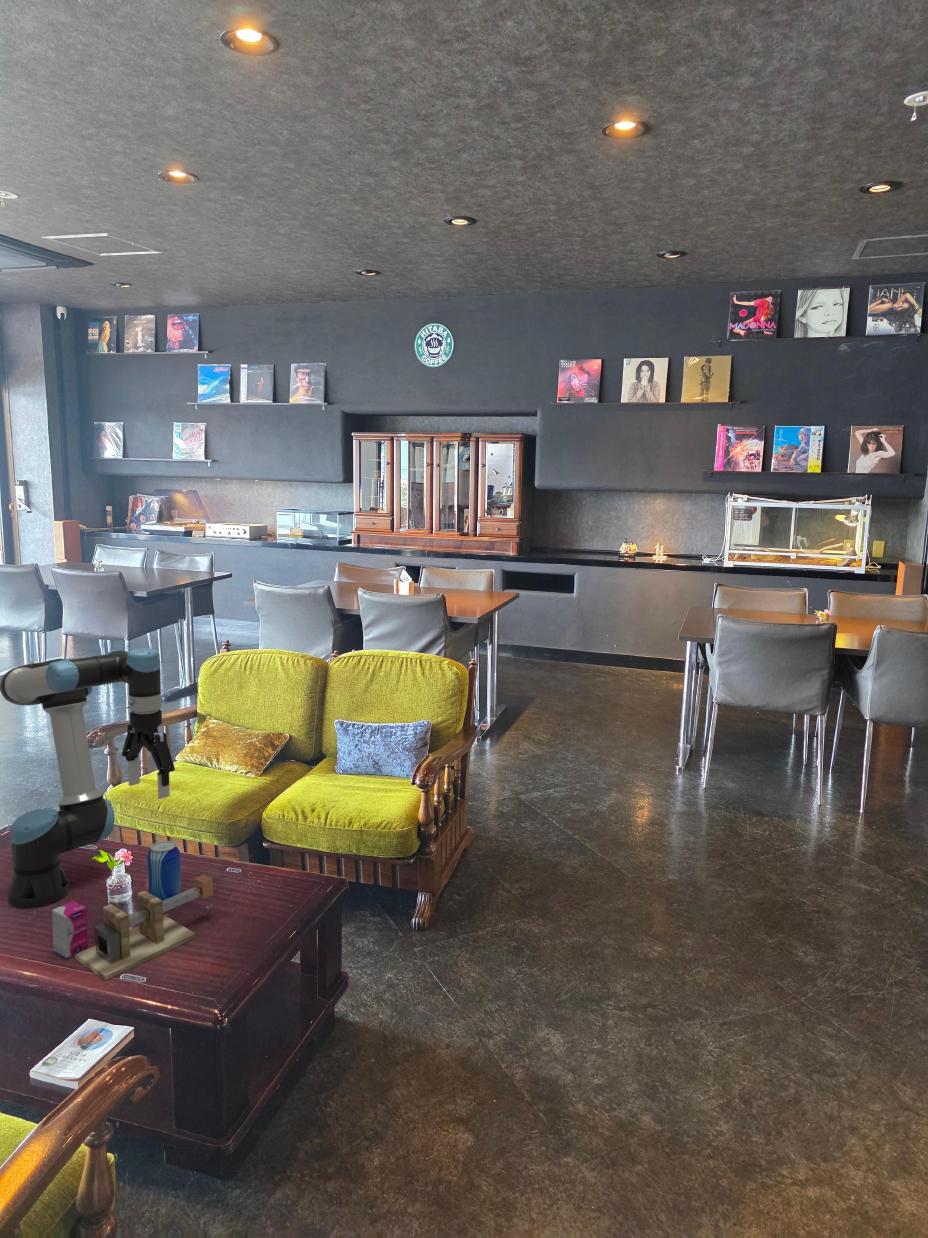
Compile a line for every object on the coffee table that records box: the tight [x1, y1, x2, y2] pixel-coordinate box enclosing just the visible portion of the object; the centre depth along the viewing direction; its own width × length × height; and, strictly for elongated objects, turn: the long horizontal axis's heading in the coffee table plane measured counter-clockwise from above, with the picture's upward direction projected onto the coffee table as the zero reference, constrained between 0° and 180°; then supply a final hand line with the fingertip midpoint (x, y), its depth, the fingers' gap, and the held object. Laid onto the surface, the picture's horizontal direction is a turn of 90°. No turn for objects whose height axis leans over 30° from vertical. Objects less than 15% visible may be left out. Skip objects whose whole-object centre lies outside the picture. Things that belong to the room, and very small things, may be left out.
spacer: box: [94, 922, 121, 964], centre depth 196 cm, size 7×2×7 cm, turn 52°
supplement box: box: [51, 900, 89, 960], centre depth 200 cm, size 6×6×12 cm
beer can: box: [147, 840, 182, 901], centre depth 226 cm, size 8×8×16 cm
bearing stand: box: [74, 890, 196, 982], centre depth 202 cm, size 14×24×12 cm, turn 142°
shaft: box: [128, 874, 214, 928], centre depth 209 cm, size 4×23×4 cm, turn 142°
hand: (148, 790), depth 209 cm, fingers open, 13 cm apart
